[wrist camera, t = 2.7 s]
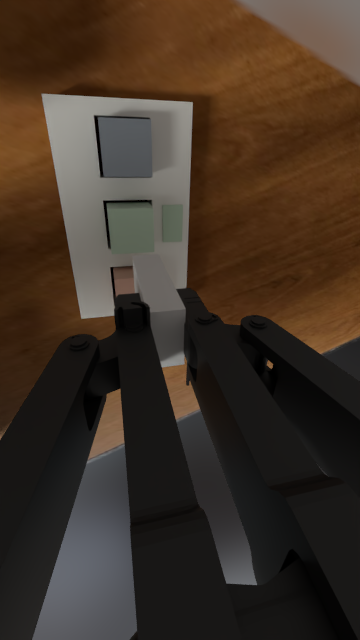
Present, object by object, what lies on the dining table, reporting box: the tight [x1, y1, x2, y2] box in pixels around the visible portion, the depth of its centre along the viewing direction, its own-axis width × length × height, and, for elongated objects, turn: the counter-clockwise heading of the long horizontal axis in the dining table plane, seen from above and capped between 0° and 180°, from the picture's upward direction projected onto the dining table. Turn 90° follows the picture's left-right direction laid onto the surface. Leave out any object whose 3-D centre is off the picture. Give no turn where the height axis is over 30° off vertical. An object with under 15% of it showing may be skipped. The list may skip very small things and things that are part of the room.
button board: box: [42, 94, 193, 319], centre depth 30 cm, size 20×12×3 cm, turn 179°
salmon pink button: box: [113, 267, 135, 297], centre depth 31 cm, size 4×4×3 cm
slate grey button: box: [98, 117, 153, 177], centre depth 25 cm, size 4×4×3 cm
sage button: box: [106, 202, 154, 254], centre depth 28 cm, size 4×4×3 cm
